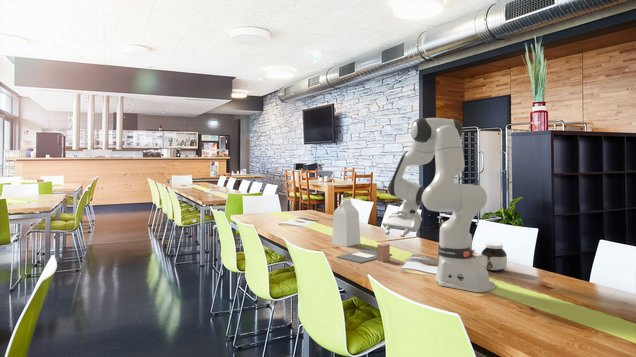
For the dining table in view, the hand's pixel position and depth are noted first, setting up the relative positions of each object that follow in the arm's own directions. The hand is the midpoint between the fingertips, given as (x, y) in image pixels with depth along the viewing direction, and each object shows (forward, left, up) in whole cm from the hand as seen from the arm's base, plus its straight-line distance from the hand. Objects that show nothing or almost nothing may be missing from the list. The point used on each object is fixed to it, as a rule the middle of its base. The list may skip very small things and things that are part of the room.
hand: (394, 235), depth 199 cm
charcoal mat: (+12, +8, -11) cm, 19 cm away
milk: (+40, -8, -12) cm, 42 cm away
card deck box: (0, +8, -11) cm, 14 cm away
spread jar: (-43, -12, -12) cm, 46 cm away
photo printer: (-20, -31, -12) cm, 38 cm away
